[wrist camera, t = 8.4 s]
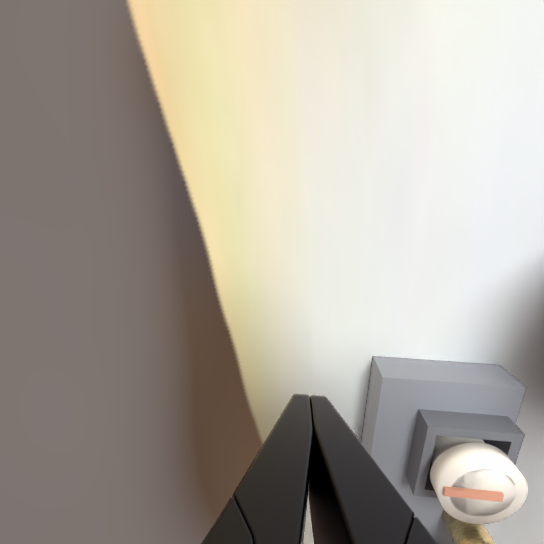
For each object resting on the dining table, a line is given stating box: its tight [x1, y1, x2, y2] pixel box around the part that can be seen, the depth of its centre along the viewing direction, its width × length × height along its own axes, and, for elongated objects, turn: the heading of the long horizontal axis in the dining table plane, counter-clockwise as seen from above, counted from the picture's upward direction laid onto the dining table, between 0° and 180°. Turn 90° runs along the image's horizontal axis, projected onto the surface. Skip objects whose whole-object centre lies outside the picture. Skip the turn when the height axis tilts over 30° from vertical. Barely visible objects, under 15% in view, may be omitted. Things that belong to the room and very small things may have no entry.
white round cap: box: [430, 435, 528, 524], centre depth 20 cm, size 5×5×6 cm
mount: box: [361, 356, 526, 544], centre depth 22 cm, size 9×21×4 cm, turn 178°
